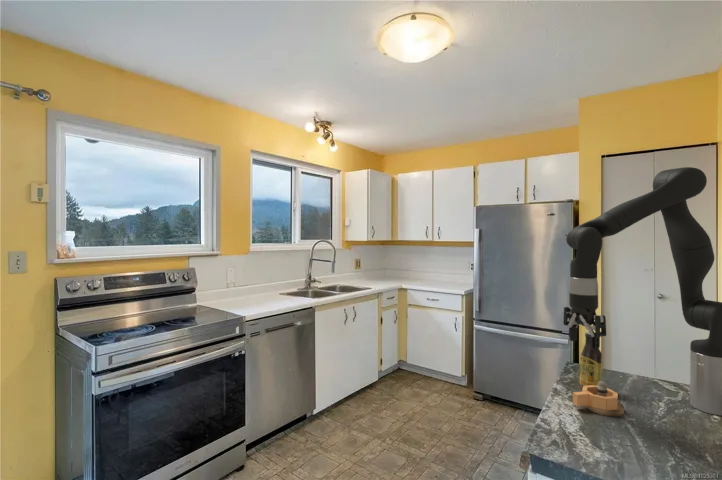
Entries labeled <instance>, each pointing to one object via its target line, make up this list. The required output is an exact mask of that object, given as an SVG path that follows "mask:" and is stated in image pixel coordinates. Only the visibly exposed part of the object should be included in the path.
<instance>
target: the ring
mask: <svg viewBox="0 0 722 480" xmlns="http://www.w3.org/2000/svg"><path fill="white" fill-rule="evenodd" d="M618 399H619V398H618V392H616V391H614V390H612V389H610V388H608V387H607V397H603V396H599V395H597V386H595V385H589V386H583V388H582V389H581V391H574V392H572V404H573V405H574V406H576V407H583V406H587V405H589V406H591V407H594V408H598V409H603V410H617V409H618V402H619V400H618Z"/></svg>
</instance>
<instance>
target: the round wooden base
mask: <svg viewBox="0 0 722 480" xmlns="http://www.w3.org/2000/svg"><path fill="white" fill-rule="evenodd" d="M607 388H608V384H607V383H606V382H605V381H603V380H601V381H599V382H598V384H597V395H599V396H603V397H607ZM582 407H583V408H585V409H586V410H587V411H590V412H592V413H594V414H598V415H601V416H607V417H620V416H623V415H624V413H625V407H624V405H623V403H621V402H620V401H618V409H617V410H603V409H598V408H594V407H591V406H589V405H587V406H582Z"/></svg>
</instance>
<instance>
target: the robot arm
mask: <svg viewBox="0 0 722 480" xmlns="http://www.w3.org/2000/svg"><path fill="white" fill-rule="evenodd" d="M707 181H708V180H707V176H706V174H705V172H704V171H702V170H701V169H700V168H697V167H691V166H687V167H685V166H684V167H677V168H670V169H665V170H660V171H659V172H658V173H657V174H656V175H655V177H654V178H653V181H652V191H649V192H647V193H645V194H643V195H640V196H638V197H637V196H636V197H635V198H632V199H629V200H627V201H625V202H622V203H620V204H618V205H616V206H614V207H612V208H610V209H608V210H607V211H605V212H604V213H602V214H600V215H599V216H597V217H595V218H593V219H590V220H587V221H585V222H584V223H582V224H579V225H577V226H575V227H574V228H572V229H570V231H568V233H567V235H566V239H565V240H566V243H567V245H568V246H569V247H570V248H572V249H574V250H576V251H575V253H576V254H575V257H574V258H573V259H571V260H570V265H569V269H570V270H569V271H570V274H569V275H570V277H569V283H568V285H569V287H568V288H569V289H568V293H569V294H568V295H569V298H568V300H569V301H568V302H569V306H565V307H563V321H562V323H563V325H564V326H566V327H567V329H568V338H569V339H568V340H569V341H570V342H577V341H578V326H579V325H580V326H582V327H585V329H586V330H587V332H589V333H590V335H591V349H593V350H595V349H599V350H600V348H601V347H600V346H601V345H600V344H601V339H600V338H601V337H607V319H606V315H602V314H601V315H600V314H597V312H596V311H597V309H598V308H599V283H598V262H599V259H600V255H601V252H602V247H603V238H606V237H611V236H614V235H616V234H619V233H620V232H623V231H625V229H627V228H629V227H631V226H633V225H635V224H637V223H638V222H640V221H642V220H643V219H645V218H648V217H649V216H651V215H653V214H656V213H658V212H661V215H662V218H663V222H664V227H665V229H666V230H665V231H666V233H667V236H668V242H669V247H670V251H671V254H672V259H673V262H674V267H675V270H676V274H677V280H678V285H679V293H680V303H681V310H682V315H683V318H684V320H685V322H686V323H687V325H689V326H690V327H693V328H696V329H700V330H704V331H708V332H709V333H708V337H707V338H705V339H704V338H703V339H693V340H691V342H690V348H689V349H690V350H689V351H690V354H689V355H690V356H689V358H690V359H689V360H690V361H689V363H690V365H689V367H690V368H689V369H690V370H689V371H690V372H689V373H690V375H689V382H690V383H689V389H690V390H689V398H690V399H689V404H690V406H691V407H692V408H694V409H696V410H698V411H701V412H704V413H707V414H711V415H715V416H722V302H721V301H716V300H709V299H706V298H705V297H704V296H705V295H704V291H703V283H704V280H705V278H706V276H707V275H708V273H710V270H711V269H712V267H713V266H714V262H715V254H714V253H715V252H714V248H713V243H712V240H711V238H710V236H709V234H708V233H707V231H706V230H705V228H703V226H702V225H701V224H700V223H699V222H698V221H697V220H696V218H695V217H694V216H693V214H692V212H691V211H690V209H689V206H688V204H687V203H688V201H687V200H690V199H692V198H694V197H696V196H698V195H700V194H701V193H702V192H703V191H704V190H705V188H706V186H707V183H708V182H707ZM594 332H595V333H594Z"/></svg>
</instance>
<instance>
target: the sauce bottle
mask: <svg viewBox="0 0 722 480" xmlns="http://www.w3.org/2000/svg"><path fill="white" fill-rule="evenodd" d="M594 333H595V331H594ZM584 337H585V344H584V345H583V349H582V351H581V353H580V359H579V360H580V362H579V363H580V364H579V387H580V389H581V390H582V388H583V386H589V385H595V386H597V384H598V382H599V381H602V369H603V368H602V367H603V361H602V360H603V359H602V356H603V354H602V351H601V349H600V348H599V349H595V350H593V349H591V335H590V333H589V331H585V333H584Z"/></svg>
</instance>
